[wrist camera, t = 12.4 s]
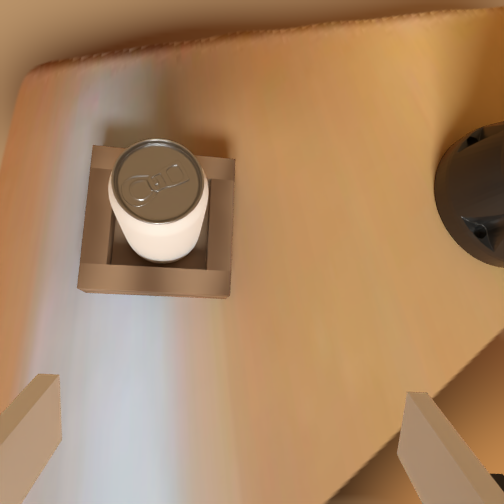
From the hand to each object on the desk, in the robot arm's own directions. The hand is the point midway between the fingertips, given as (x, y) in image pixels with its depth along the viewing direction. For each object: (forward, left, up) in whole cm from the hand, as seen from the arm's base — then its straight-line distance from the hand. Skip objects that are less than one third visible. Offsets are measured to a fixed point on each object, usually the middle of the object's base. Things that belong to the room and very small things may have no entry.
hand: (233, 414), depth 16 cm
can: (+4, -12, -21) cm, 24 cm away
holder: (+4, -12, -22) cm, 25 cm away
